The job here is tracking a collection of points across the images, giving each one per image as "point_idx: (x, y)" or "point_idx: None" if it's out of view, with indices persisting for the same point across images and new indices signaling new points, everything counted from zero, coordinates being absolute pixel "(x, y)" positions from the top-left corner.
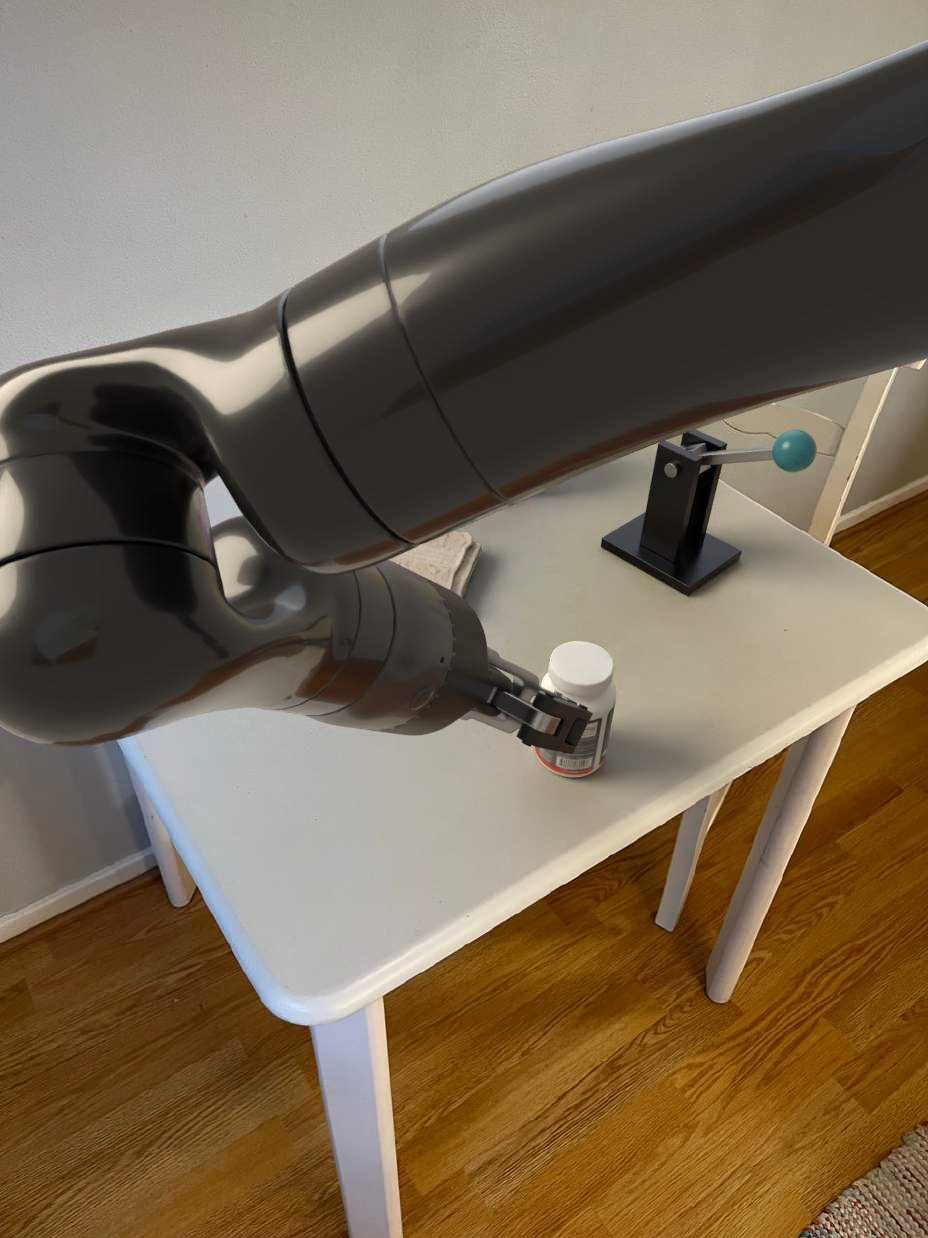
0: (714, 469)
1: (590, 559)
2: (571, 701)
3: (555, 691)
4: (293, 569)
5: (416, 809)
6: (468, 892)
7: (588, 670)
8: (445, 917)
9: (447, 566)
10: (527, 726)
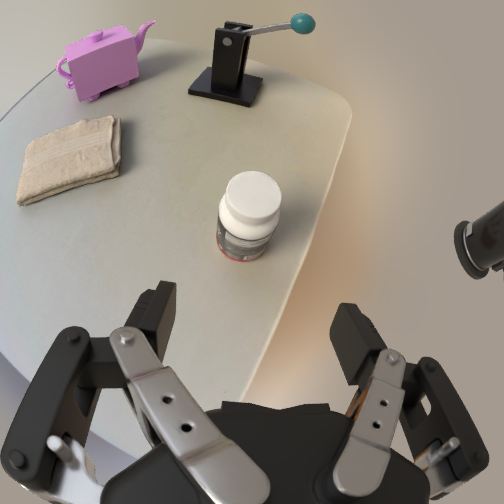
0: (247, 39)
1: (186, 102)
2: (362, 316)
3: (393, 360)
4: None
5: (170, 336)
6: (237, 377)
7: (264, 199)
8: (234, 399)
9: (104, 141)
10: (449, 492)
